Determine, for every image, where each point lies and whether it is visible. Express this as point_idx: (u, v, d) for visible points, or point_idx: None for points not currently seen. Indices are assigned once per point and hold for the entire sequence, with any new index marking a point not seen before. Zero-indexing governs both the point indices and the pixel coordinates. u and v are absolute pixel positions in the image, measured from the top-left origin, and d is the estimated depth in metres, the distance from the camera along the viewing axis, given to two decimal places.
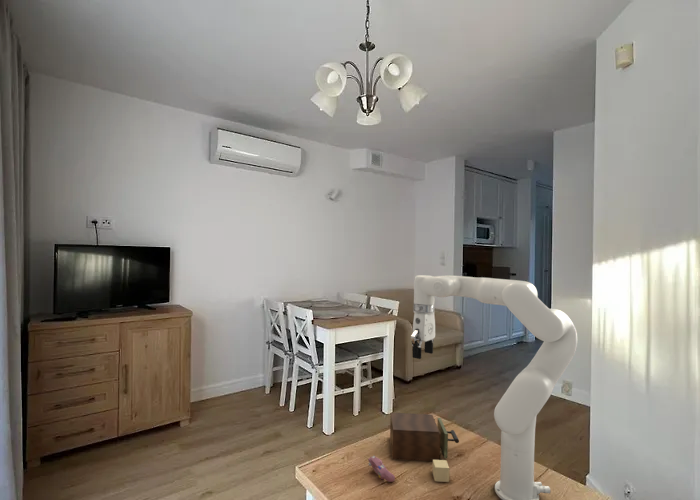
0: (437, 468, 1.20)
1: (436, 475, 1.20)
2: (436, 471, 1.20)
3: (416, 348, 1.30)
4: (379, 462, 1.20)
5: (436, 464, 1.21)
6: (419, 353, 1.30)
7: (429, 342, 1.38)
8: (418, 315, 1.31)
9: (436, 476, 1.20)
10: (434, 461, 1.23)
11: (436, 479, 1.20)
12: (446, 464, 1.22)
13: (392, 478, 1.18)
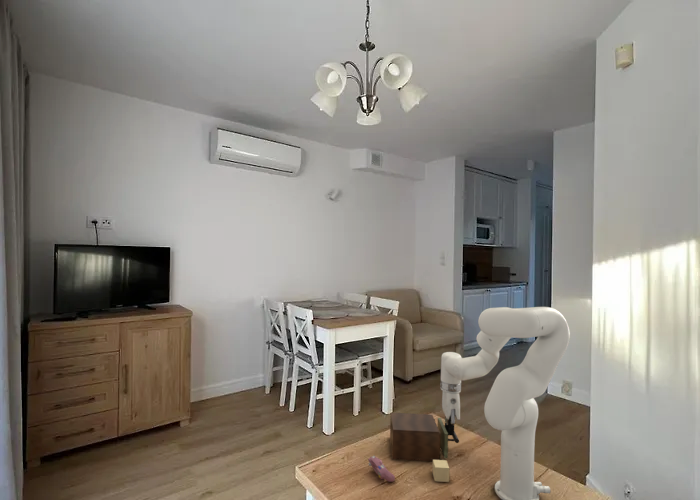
0: (437, 468, 1.20)
1: (436, 475, 1.20)
2: (436, 471, 1.20)
3: (451, 426, 1.38)
4: (379, 462, 1.20)
5: (436, 464, 1.21)
6: (452, 430, 1.38)
7: None
8: (453, 395, 1.35)
9: (436, 476, 1.20)
10: (434, 461, 1.23)
11: (436, 479, 1.20)
12: (446, 464, 1.22)
13: (392, 478, 1.18)
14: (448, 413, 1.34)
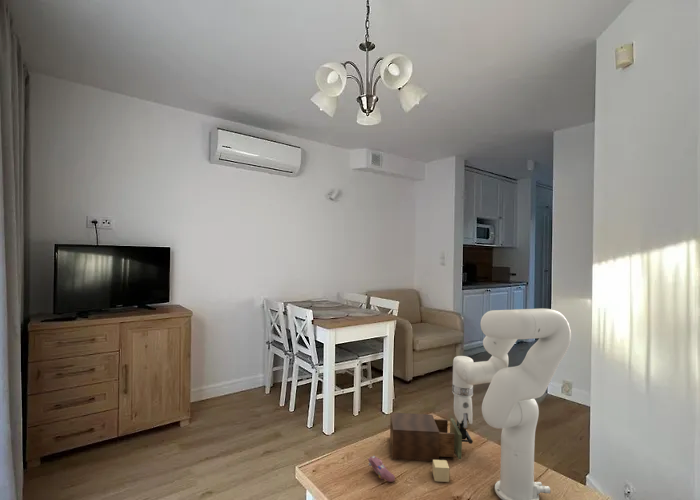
0: (437, 468, 1.20)
1: (436, 475, 1.20)
2: (436, 471, 1.20)
3: (463, 430, 1.38)
4: (379, 462, 1.20)
5: (436, 464, 1.21)
6: (464, 434, 1.38)
7: None
8: (465, 399, 1.35)
9: (436, 476, 1.20)
10: (434, 461, 1.23)
11: (436, 479, 1.20)
12: (446, 464, 1.22)
13: (392, 478, 1.18)
14: (460, 417, 1.34)
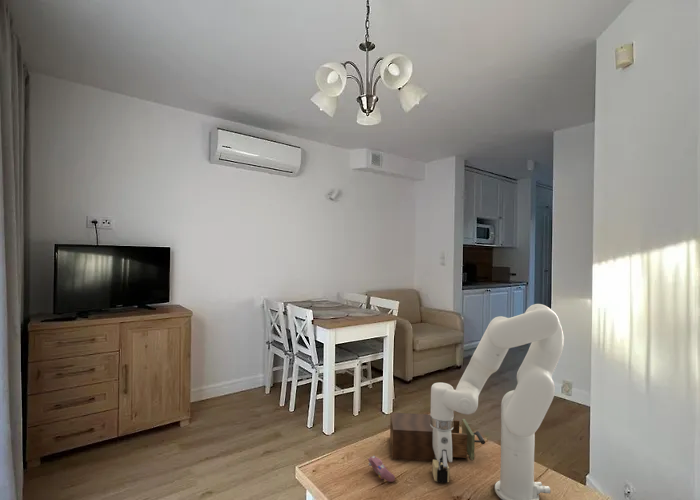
0: (437, 468, 1.20)
1: (436, 475, 1.20)
2: (436, 471, 1.20)
3: (443, 472, 1.18)
4: (379, 462, 1.20)
5: (436, 464, 1.21)
6: (446, 476, 1.19)
7: None
8: (444, 434, 1.18)
9: (436, 476, 1.20)
10: (434, 461, 1.23)
11: (436, 479, 1.20)
12: None
13: (392, 478, 1.18)
14: (439, 454, 1.17)
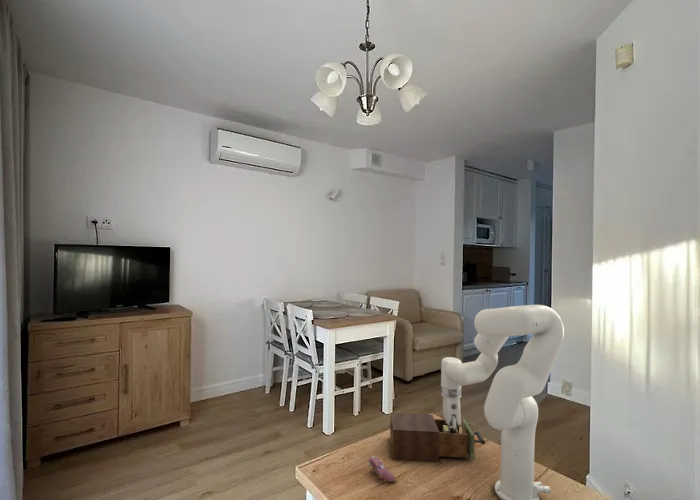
0: (447, 431, 1.36)
1: None
2: None
3: None
4: (379, 462, 1.20)
5: (446, 428, 1.38)
6: None
7: None
8: (453, 401, 1.34)
9: None
10: (444, 426, 1.40)
11: None
12: None
13: (392, 478, 1.18)
14: (449, 419, 1.34)
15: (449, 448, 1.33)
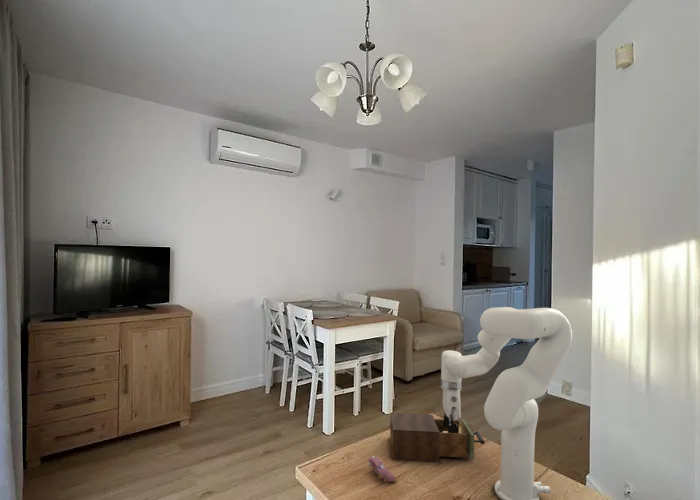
0: None
1: None
2: None
3: (454, 427, 1.34)
4: (379, 462, 1.20)
5: None
6: (456, 431, 1.34)
7: None
8: (454, 393, 1.35)
9: None
10: (444, 432, 1.40)
11: None
12: None
13: (392, 478, 1.18)
14: (449, 411, 1.34)
15: (449, 448, 1.33)
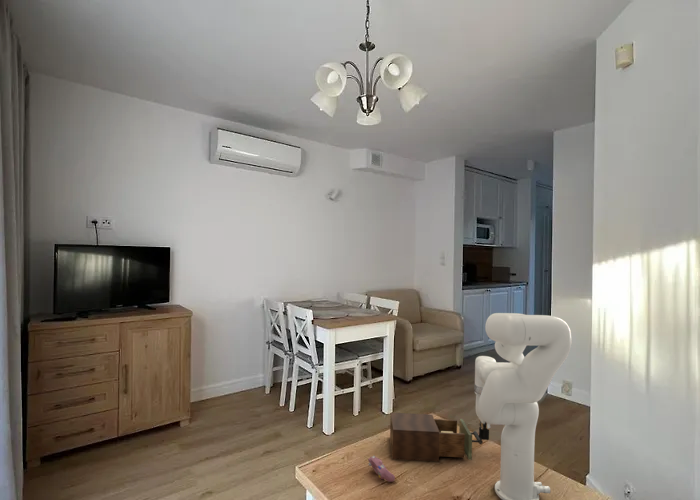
0: None
1: None
2: None
3: (486, 431, 1.37)
4: (379, 462, 1.20)
5: None
6: (487, 434, 1.37)
7: None
8: None
9: None
10: None
11: None
12: None
13: (392, 478, 1.18)
14: None
15: (447, 448, 1.33)
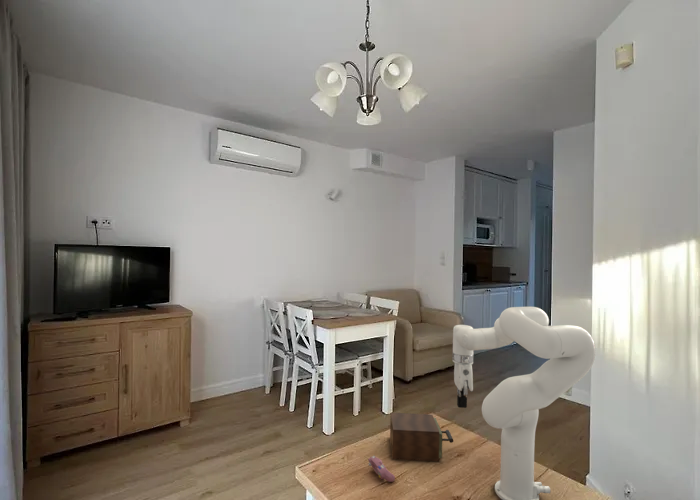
0: None
1: None
2: None
3: (463, 398, 1.37)
4: (379, 462, 1.20)
5: None
6: (465, 402, 1.38)
7: None
8: (466, 366, 1.35)
9: None
10: None
11: None
12: None
13: (392, 478, 1.18)
14: (461, 384, 1.34)
15: None
